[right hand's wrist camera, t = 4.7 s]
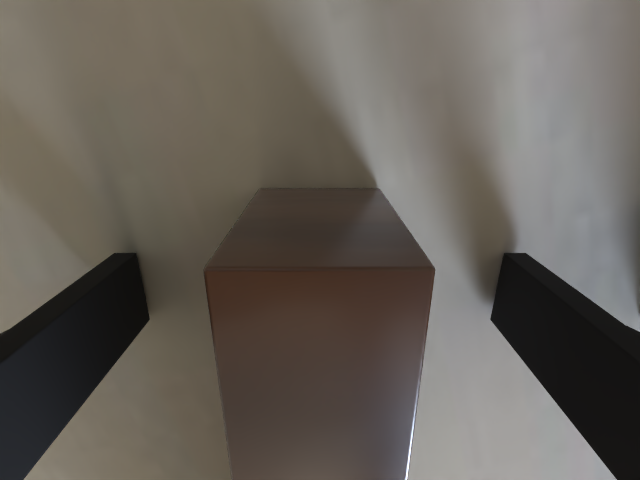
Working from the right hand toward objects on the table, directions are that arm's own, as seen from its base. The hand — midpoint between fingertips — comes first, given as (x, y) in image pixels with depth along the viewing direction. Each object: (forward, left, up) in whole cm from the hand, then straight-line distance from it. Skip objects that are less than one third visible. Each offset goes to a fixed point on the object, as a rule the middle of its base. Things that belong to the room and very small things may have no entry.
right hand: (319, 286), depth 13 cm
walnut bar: (+8, 0, 0) cm, 8 cm away
